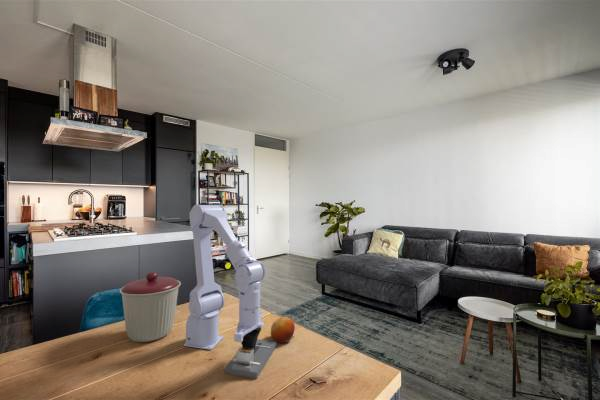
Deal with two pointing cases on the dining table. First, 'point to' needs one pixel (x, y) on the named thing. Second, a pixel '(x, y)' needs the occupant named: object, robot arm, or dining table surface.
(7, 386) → the dining table surface
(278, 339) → the fruit
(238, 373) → the board
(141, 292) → the canister
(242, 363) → the fader cap
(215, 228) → the robot arm
